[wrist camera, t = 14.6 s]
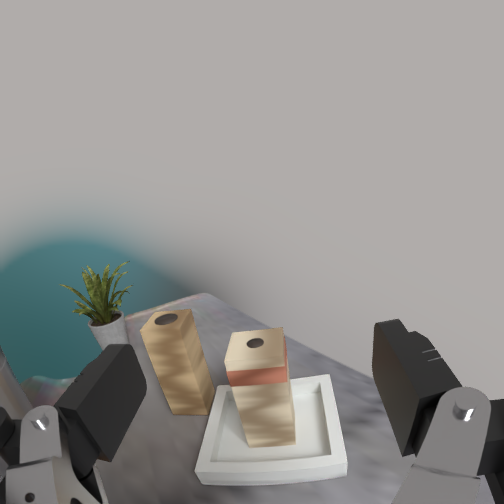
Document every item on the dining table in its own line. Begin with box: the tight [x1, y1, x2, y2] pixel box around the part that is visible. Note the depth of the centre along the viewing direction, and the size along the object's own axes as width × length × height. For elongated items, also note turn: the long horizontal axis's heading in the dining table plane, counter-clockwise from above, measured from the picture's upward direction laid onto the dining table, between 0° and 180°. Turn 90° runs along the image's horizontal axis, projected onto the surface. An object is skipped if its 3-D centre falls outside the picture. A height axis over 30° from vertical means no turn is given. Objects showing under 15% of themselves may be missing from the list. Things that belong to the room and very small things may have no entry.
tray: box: [195, 374, 347, 485], centre depth 27 cm, size 13×13×2 cm
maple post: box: [224, 327, 296, 448], centre depth 26 cm, size 5×5×11 cm
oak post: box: [140, 309, 215, 415], centre depth 33 cm, size 4×4×12 cm
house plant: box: [62, 262, 132, 350], centre depth 49 cm, size 14×14×16 cm
